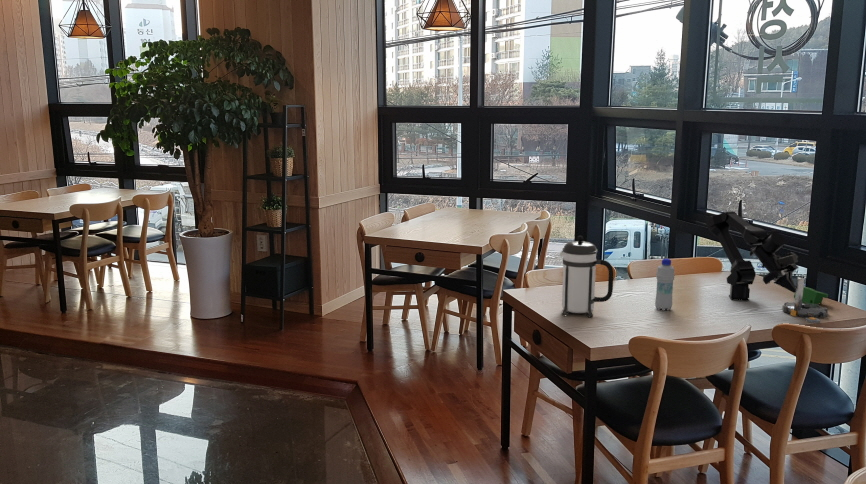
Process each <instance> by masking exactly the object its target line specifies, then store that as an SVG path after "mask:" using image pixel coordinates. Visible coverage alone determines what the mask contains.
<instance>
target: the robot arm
mask: <svg viewBox="0 0 866 484" xmlns="http://www.w3.org/2000/svg"><path fill="white" fill-rule="evenodd" d="M705 225H706V228H707V229H708V230H709V232H710V233H711V234H712V235H713V236H715V237H717V239H718V240H719V243H720V245H721V247H722V249H723V251H724V253H725V256H726V258H727V259H728V262H729V263H730V264H731V265H730V274H729V275H728V276H727V277H726V283H727V284H728V285H730V288H729V294H728V297H729V299H730V300H731V301H746V302H748V301H749V299H750V293H751V292H750V291H751V289H750V286H749V285H753V283H754V281H755V278H756V274H757V273H756V271H755V267H754V266H753V263H752V261H751V260H745V259H744V258H743V256H742V254H741V252H740V250H739V248H738V246H737V244H736V243H735V241H734V238H733V237H732V235H731V233H730V226H731V227H732V228H733V229H735V230H736V231H737V232H738V233H740V234H741V235H742V239H743V241H745V243H746V244H747V245H749V246H753V247H751V248H749V249H750V251H749V257H752V256H753V255H755V257H756V258H757V259H758V261H759V262H760V263H761V267H762V268H763V269H764V268H765V269H766V270H767V271H768V273H767V274H766V275H764V276H763V277H762V282H763V284H765V285H768V284H770V283H771V282H772V281H773V280H775V281H773V284H776V285H777V286H780V287H781V288H783V289H785V290H787V291H790V292H792V293H793V294H795V292H796V284H795V283H794V280H793V273H794V272H795V271H796V270H797V269H799V267H798V265H797V264H796V263H798V262H799V260H798V258H799V255H797V253H795V252H794V251H793V252H792V251H791V252H788V253H787V255H786V256H784V257H781V255H776V252H777V251H779V250H780V249H781V248H782V247H783V246H784V245H785V244H786V241H787V239H786V238H785V237H784V235H782V234H781V233H779V232H778V231H777V230H770V232H769V233H768V232H767V231H766V230H765V229H763V228H761V227H758V226H753V225H751V223H749V222H747V220H745V219H743V217H741V216H740V215H739V214H737V212H735V211H734V210H732V211H731V210H730V211H723V212H721V213H719V214H716V215H711V216H708V218H707V219H706V220H705Z"/></svg>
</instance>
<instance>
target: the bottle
mask: <svg viewBox="0 0 866 484" xmlns="http://www.w3.org/2000/svg"><path fill="white" fill-rule="evenodd" d="M655 275H656V291H655V292H656V293H655V303H654V306H655V308H656V309H657V310H658V311H661V310H662V311H663V312H664V311H665V310H666V311H669V310H672V307H673V291H674V280H675V277H676V274H675V268H674V266H673V265H672V260H671V259H669V258H663V259H662V260H661V265H658V266H657V270H656V274H655Z"/></svg>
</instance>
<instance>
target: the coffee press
mask: <svg viewBox="0 0 866 484" xmlns="http://www.w3.org/2000/svg"><path fill="white" fill-rule="evenodd" d="M576 239H577V240H574V241H569V242H567V243H565V244H564V247H563V248H562V250H561V252H560V253H559V254H558V257H562V287H561V289H562V291H561V293H562V294H561V307H562V308H563V310H562V312H561V315H562V316H563V315H567V316H568V315H569V314H570V313H572V314H585V315H586V316H587V317H588V316H590V318H592V317H594V314H593V312H592V311H593V310H594V308H595V303H603V302H607V301H609V300H610V299H611V297H612V296H613V290H614V269H613V266H612V264H611V263H610V262H609V261H608V260H604V259H597V254H598V248H597V246H596V245H595V244H594V243H592V242H589V241H585V240H584V237H583V235H578V236H577V237H576ZM597 265H601V266H605V267H606V268H607V271H608V282H607V283H608V284H607V293H606V295H605V296H602V297H601V296H595V294H596V293H595V292H596V290H595V289H596V271H597V270H596V266H597Z"/></svg>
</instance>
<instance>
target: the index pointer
mask: <svg viewBox="0 0 866 484" xmlns="http://www.w3.org/2000/svg"><path fill="white" fill-rule="evenodd" d="M804 320H805V321H806V322H807V323H813V324H815V323H816V324H819V323H821V320H820V319H819V317H816V318H813V317H810V318H807V317H804Z"/></svg>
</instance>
